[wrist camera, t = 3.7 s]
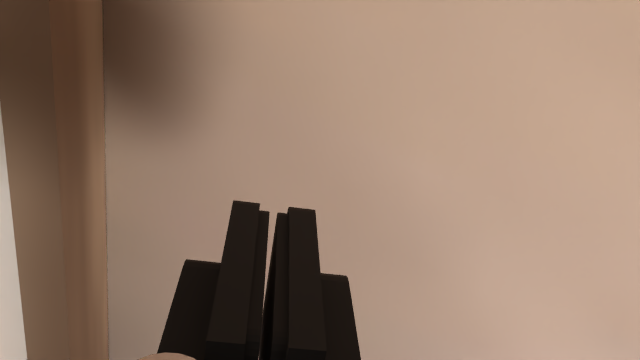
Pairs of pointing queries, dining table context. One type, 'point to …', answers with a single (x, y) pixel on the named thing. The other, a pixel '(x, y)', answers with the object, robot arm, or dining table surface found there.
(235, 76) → the dining table surface
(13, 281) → the coaster
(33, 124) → the walnut block
